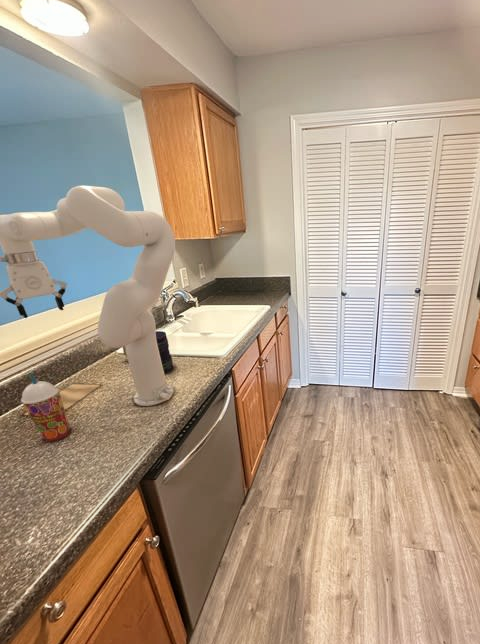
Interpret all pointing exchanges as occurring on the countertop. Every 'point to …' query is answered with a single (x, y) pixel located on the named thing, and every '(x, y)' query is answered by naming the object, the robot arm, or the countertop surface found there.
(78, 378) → the countertop surface
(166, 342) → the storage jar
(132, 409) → the countertop surface
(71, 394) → the board
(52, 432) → the smoothie
